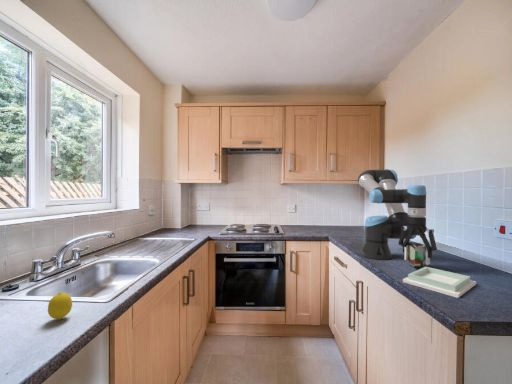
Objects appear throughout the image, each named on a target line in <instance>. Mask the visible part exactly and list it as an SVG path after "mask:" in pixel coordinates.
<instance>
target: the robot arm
mask: <svg viewBox="0 0 512 384" xmlns="http://www.w3.org/2000/svg"><path fill="white" fill-rule="evenodd" d="M398 180H399V178H398V174H397V172H396V171H395V170H394V169H388V168H387V169H366V170H364V171H362V172H361V173H360V174H359V175H358V177H357V182H358V185H359V186H360V187H361V188H363V189H365V190H366V191H367V193H369V195H368V196H369V197H368V198H369V200H370V203H373V204H384V205H385V208H386V211H387V213H388V216H387V215H371V216H367V217H366V218H365V223H364V232H365V242H364V245H363V247H362V251H361V255H362V256H363V257H364V258H367V259H372V260H378V261H379V260H380V261H382V260H384V261H387V260H391V259H392V258H393V257H392V251H391V249H390V246H389V239H391V240H398V245H400V246H401V247H402V253H403V254H404V261H408V259H409V247H408V246H407V244H408V243H409V242H411V240H413V239H415V238H416V237H417V236H419V238H421V240H422V242H423V245H425V247H426V251H425V265H426V266H428V265H430V263H431V259H432V257H433V252H435V251H437V250H438V248H437V244H436V243H437V242H436V239H435V235H434V232H435V230H434V229H433V228H431V229H430V228H428V227H427V218H426V217H427V188H426V185H422V184H418V185H417V184H416V185H415V184H414V185H412V184H411V185H408V186H407V189H406V188H399V189H398V188H397V189H396V186H397V184H398V182H399V181H398ZM403 204H407V211H405V209H404V206H403ZM425 233H427V234H428V238H429V240H428V238H427V235H426V234H425Z"/></svg>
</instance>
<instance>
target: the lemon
mask: <svg viewBox="0 0 512 384" xmlns="http://www.w3.org/2000/svg"><path fill="white" fill-rule="evenodd" d="M72 308H73V300H72V298H71V296H70V295H69V294H68V293H66V292H59V293H57V294H55V295H53V296H52V297H51V298H50V300H49V302H48V306H47V312H48V313H47V314H48V316H49V317H50V318H51V319H55V320H58V321H61V320H62V319H63V318H64V317H66V316H67V315H68V314H69V313H70V312H71V311H72Z"/></svg>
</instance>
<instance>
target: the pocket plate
mask: <svg viewBox="0 0 512 384" xmlns="http://www.w3.org/2000/svg"><path fill="white" fill-rule="evenodd" d="M402 283H404V284H408V285H412V286H416V287H419V288H423V289H425V290H430V291H433V292H437V293H440V294H443V295H447V296H450V297H453V298H457V299H458V298H461V296H463V295H464V294H466V293H467V292H468V291H469V290H471V289H472V288H473V287H475V286H476V285H477V281H475V280H472V279H471V276H470V275H465V274H461V273H456V272H451V271H448V270H447V271H446V270H444V269H438V268H434V267H433V268H432V267H428V266H423V267H420V268H419V269H418V270H415V271H412V272H409V273H408V274H407V277H404V278H402Z"/></svg>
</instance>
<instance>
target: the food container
mask: <svg viewBox="0 0 512 384" xmlns="http://www.w3.org/2000/svg"><path fill="white" fill-rule="evenodd" d="M406 247H409V259H408V260H407V262H408V263H409V264H410V265H411V266H412V267H413V268H424V261H425V254H426V251H427V248H426V246H425V244H424V243H419V242H414V241H409V243H408V244H407V246H406Z"/></svg>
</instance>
